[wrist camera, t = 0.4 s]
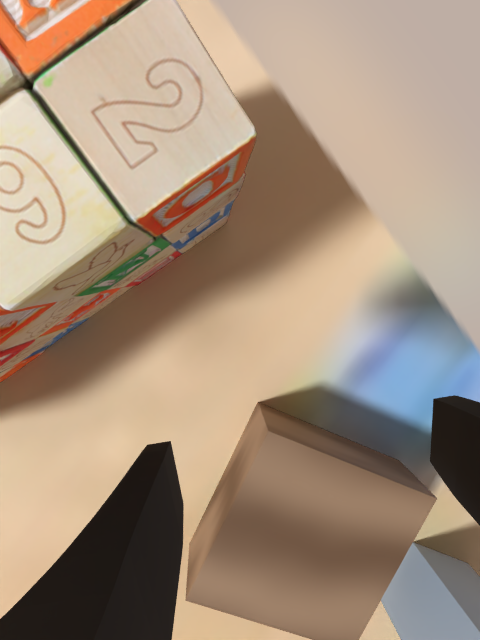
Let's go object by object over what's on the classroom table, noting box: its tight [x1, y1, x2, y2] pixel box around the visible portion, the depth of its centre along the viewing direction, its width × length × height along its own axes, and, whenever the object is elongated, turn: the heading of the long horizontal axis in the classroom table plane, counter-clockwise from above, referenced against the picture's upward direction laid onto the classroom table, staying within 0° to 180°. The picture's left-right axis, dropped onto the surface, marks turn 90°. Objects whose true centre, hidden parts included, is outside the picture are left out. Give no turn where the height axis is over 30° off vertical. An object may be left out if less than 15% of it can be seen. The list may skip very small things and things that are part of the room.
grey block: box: [381, 542, 480, 640], centre depth 20 cm, size 5×5×6 cm
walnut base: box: [186, 402, 437, 640], centre depth 20 cm, size 10×10×4 cm
